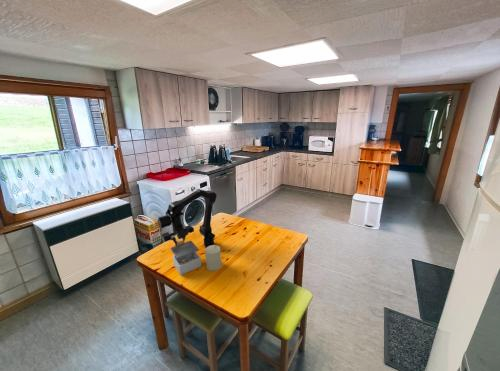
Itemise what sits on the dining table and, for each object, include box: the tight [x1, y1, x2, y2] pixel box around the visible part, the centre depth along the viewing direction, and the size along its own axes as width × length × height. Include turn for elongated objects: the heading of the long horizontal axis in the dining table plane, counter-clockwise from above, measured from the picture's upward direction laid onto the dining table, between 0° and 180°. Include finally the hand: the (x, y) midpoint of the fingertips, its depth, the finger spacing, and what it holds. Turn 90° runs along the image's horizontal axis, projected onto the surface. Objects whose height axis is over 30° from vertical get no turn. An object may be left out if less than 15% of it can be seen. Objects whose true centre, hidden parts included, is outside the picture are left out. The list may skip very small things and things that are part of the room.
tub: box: [172, 251, 202, 276], centre depth 133 cm, size 13×12×6 cm
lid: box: [169, 238, 200, 259], centre depth 133 cm, size 13×17×3 cm
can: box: [204, 244, 223, 272], centre depth 131 cm, size 9×9×12 cm
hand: (179, 244), depth 138 cm, fingers closed on lid, 4 cm apart
